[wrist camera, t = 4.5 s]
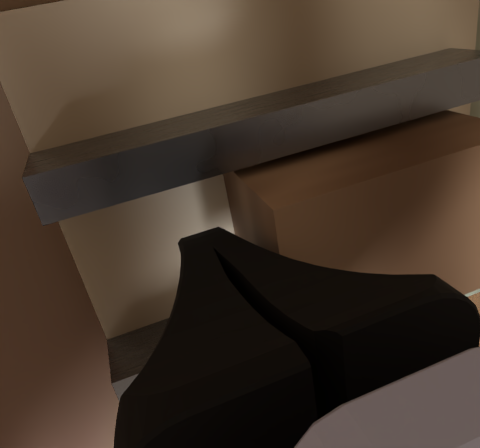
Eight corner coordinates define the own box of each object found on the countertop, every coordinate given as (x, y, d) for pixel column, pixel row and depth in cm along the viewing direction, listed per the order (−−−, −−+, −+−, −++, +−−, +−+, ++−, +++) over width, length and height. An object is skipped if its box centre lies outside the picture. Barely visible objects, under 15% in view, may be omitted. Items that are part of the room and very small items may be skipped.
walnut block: (244, 284, 15) (295, 362, 12) (219, 159, 13) (272, 210, 9) (416, 224, 17) (505, 277, 13) (419, 103, 14) (528, 129, 11)
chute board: (140, 411, 17) (143, 427, 16) (-21, 16, 10) (-27, 16, 10) (605, 227, 22) (622, 233, 21) (694, -113, 16) (723, -119, 15)
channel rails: (117, 366, 15) (123, 411, 13) (29, 153, 11) (22, 177, 9) (438, 247, 18) (478, 272, 16) (450, 47, 14) (503, 52, 12)
